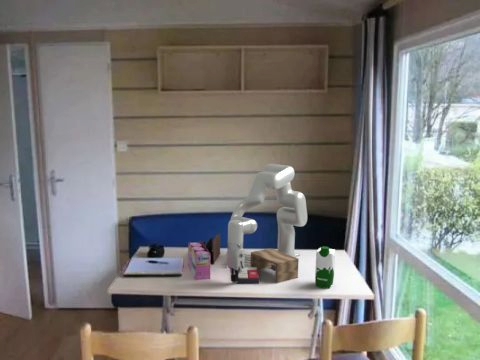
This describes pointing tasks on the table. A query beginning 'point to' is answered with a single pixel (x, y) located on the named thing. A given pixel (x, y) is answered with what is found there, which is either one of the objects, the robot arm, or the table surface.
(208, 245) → the letter holder
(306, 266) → the table surface
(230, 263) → the robot arm
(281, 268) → the tan block
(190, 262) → the gum box
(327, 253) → the milk carton
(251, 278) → the calculator
